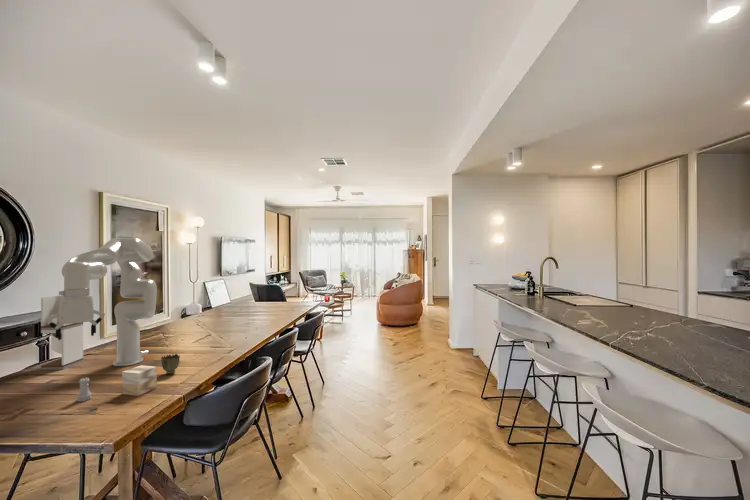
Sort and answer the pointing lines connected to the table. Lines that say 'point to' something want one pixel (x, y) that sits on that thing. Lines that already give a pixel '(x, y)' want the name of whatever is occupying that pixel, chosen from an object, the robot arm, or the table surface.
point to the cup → (170, 363)
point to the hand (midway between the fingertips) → (76, 337)
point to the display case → (69, 340)
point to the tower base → (140, 387)
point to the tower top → (138, 375)
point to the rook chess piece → (84, 390)
